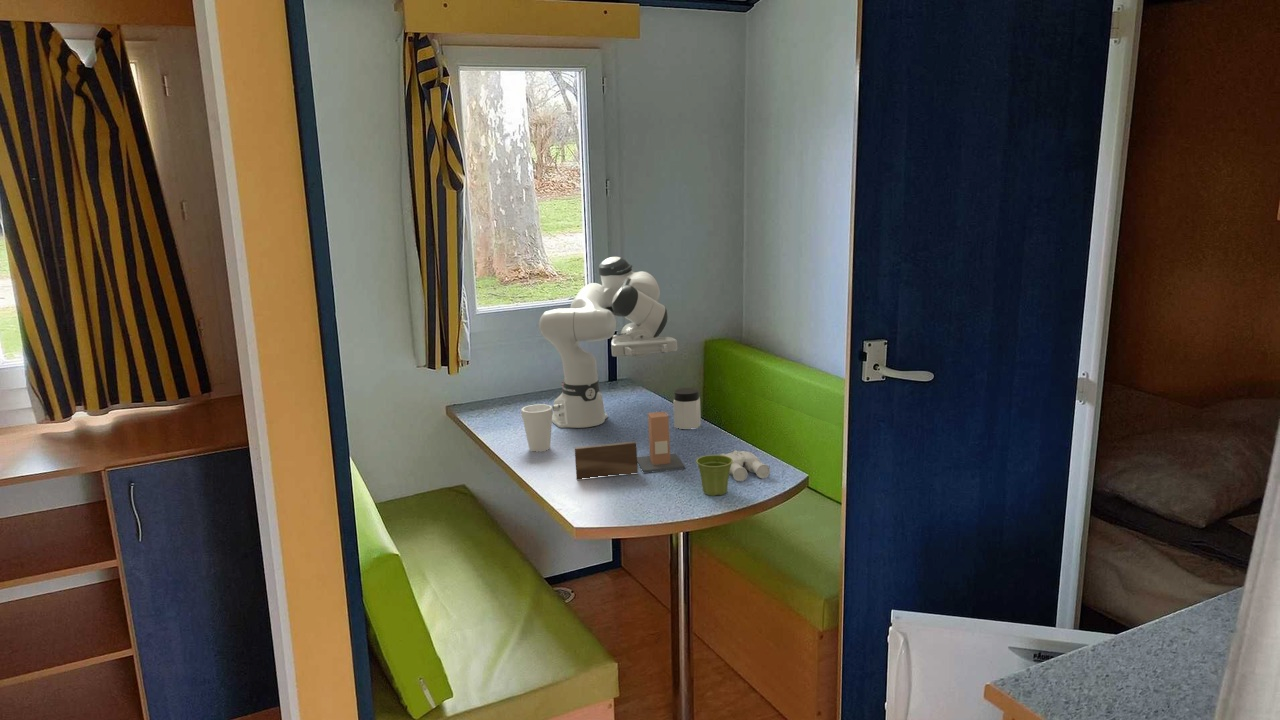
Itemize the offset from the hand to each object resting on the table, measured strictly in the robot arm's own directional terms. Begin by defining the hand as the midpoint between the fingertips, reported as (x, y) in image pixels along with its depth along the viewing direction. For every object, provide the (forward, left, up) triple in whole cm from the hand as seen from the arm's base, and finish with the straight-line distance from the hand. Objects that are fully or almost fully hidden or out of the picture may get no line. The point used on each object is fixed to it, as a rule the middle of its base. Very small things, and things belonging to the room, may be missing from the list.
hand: (648, 351), depth 265 cm
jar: (-11, +22, -30) cm, 39 cm away
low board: (+12, -24, -30) cm, 40 cm away
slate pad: (+14, -7, -30) cm, 34 cm away
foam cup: (-23, -27, -30) cm, 46 cm away
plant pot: (+41, -9, -30) cm, 52 cm away
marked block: (+14, -7, -29) cm, 33 cm away
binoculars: (+33, +7, -30) cm, 46 cm away
